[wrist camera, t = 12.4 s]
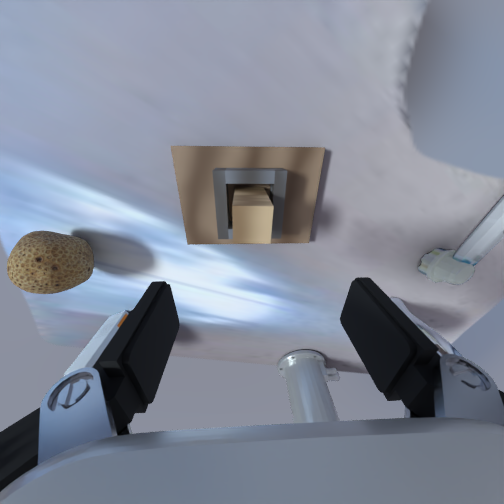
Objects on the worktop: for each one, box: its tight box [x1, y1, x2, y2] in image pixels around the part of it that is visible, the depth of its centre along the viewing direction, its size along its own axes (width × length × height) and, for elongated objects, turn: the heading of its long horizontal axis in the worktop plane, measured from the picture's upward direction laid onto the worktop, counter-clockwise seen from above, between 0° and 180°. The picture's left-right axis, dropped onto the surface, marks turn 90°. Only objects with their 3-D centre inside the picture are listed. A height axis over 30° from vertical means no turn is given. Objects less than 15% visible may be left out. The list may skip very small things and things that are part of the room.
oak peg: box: [232, 187, 274, 244], centre depth 24 cm, size 4×4×10 cm
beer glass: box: [390, 297, 463, 357], centre depth 36 cm, size 7×7×15 cm
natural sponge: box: [7, 231, 94, 294], centre depth 28 cm, size 9×9×10 cm
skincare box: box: [64, 310, 129, 376], centre depth 36 cm, size 6×4×12 cm
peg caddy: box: [171, 146, 325, 244], centre depth 27 cm, size 20×14×5 cm
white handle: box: [418, 196, 504, 285], centre depth 31 cm, size 5×7×25 cm
